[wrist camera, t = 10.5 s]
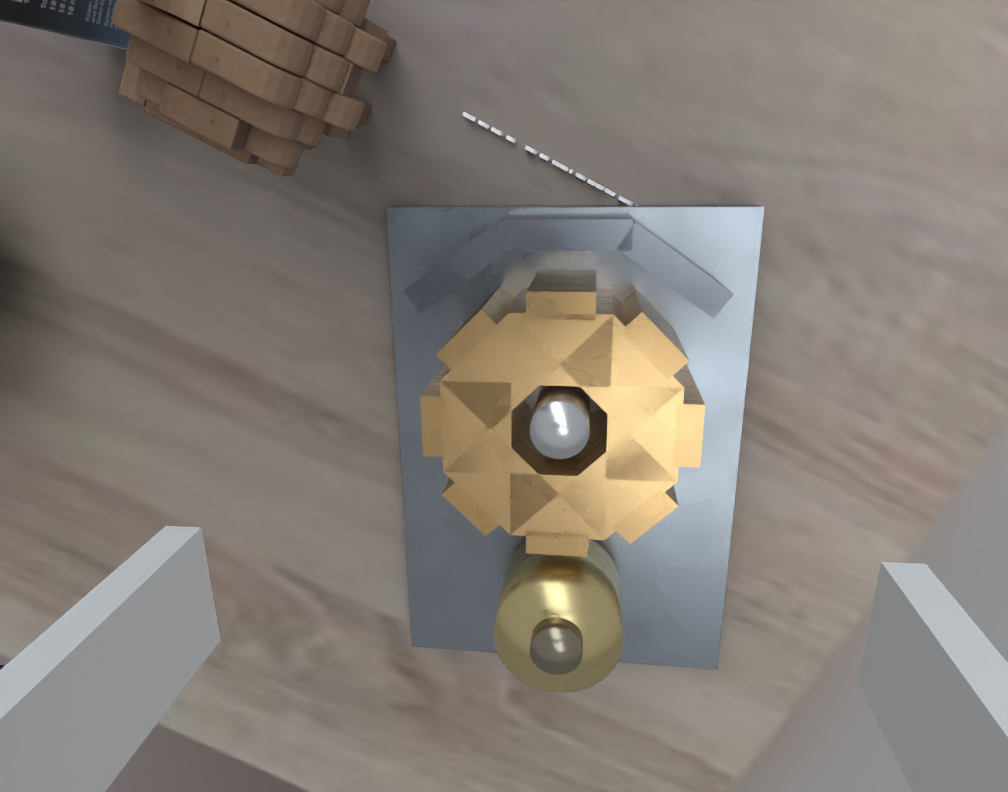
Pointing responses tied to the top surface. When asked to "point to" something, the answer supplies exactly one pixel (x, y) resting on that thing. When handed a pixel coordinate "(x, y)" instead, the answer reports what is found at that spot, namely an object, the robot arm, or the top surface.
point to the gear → (613, 428)
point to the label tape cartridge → (68, 18)
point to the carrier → (575, 436)
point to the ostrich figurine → (257, 72)
